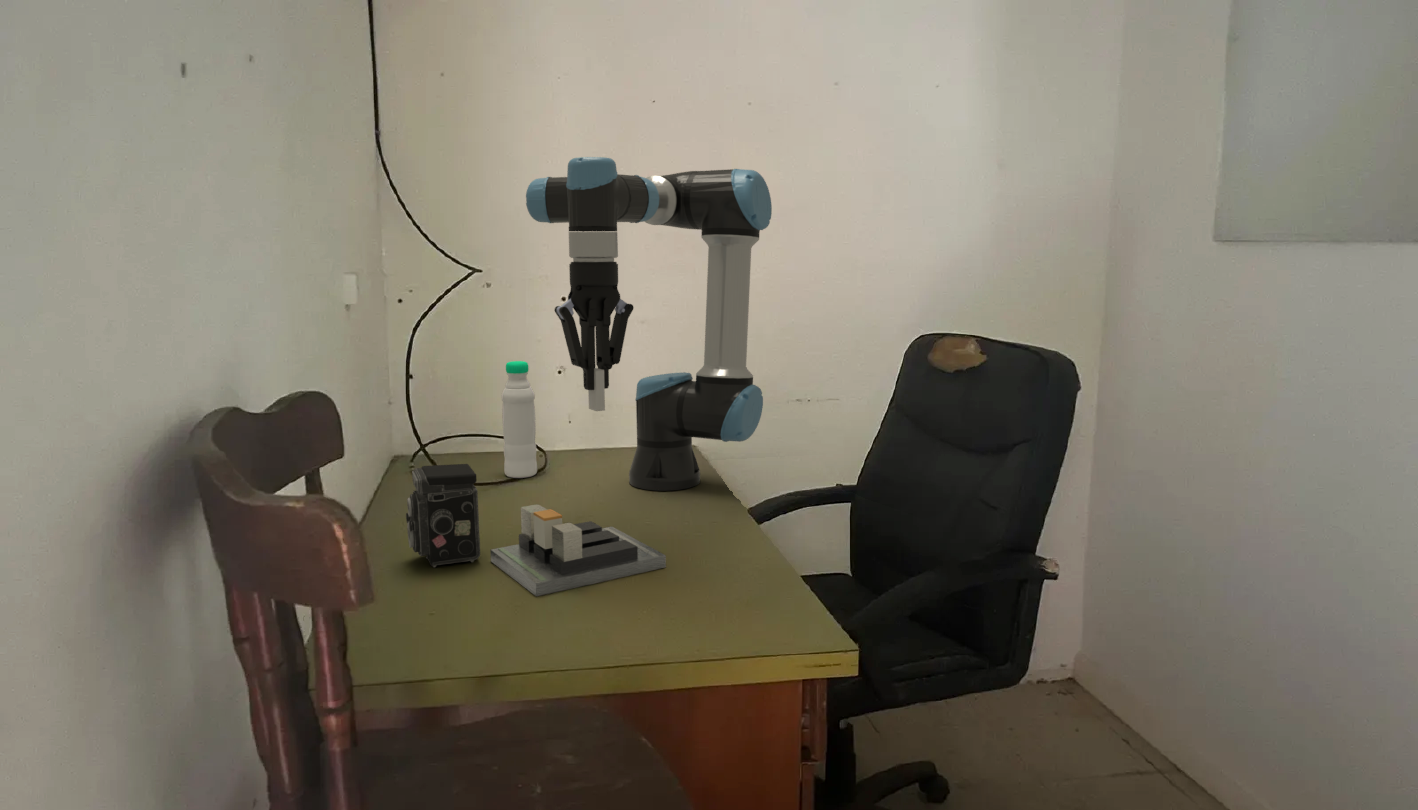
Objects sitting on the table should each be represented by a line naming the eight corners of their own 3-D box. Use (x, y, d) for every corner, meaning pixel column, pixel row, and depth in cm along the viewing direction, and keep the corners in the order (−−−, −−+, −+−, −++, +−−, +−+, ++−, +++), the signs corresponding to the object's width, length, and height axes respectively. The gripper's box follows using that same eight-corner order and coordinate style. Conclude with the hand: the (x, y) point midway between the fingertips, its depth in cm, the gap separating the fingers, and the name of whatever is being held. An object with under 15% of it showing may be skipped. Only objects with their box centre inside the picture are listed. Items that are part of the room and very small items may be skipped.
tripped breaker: (552, 538, 149) (551, 509, 148) (563, 545, 145) (562, 515, 145) (534, 542, 147) (533, 512, 146) (545, 549, 144) (544, 518, 143)
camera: (406, 554, 154) (401, 465, 152) (471, 546, 159) (467, 459, 156) (413, 574, 145) (408, 480, 142) (482, 565, 149) (478, 474, 147)
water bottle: (521, 469, 211) (517, 358, 207) (544, 473, 207) (540, 361, 203) (497, 475, 205) (493, 362, 201) (520, 480, 201) (516, 364, 197)
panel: (612, 537, 163) (611, 490, 162) (665, 567, 148) (665, 515, 147) (490, 561, 151) (488, 510, 150) (536, 596, 136) (534, 540, 135)
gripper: (619, 259, 152) (621, 402, 156) (544, 260, 145) (549, 410, 149) (642, 260, 146) (644, 409, 150) (565, 261, 139) (569, 417, 143)
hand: (596, 409), depth 150 cm, fingers closed
